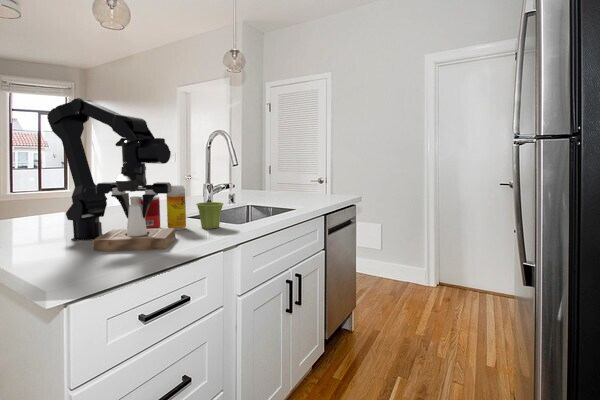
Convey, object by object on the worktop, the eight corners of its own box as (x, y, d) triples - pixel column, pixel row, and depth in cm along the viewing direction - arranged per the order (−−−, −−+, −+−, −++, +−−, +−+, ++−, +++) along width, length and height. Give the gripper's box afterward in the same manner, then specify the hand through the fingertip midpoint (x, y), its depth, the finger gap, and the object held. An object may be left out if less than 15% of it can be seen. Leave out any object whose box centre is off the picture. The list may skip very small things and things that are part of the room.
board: (93, 251, 92) (92, 239, 91) (113, 239, 105) (112, 229, 105) (165, 249, 94) (164, 237, 94) (175, 237, 108) (174, 227, 108)
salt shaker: (128, 233, 101) (127, 195, 100) (148, 232, 103) (147, 195, 102) (124, 237, 96) (122, 197, 95) (145, 236, 98) (144, 197, 96)
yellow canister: (180, 231, 118) (178, 186, 116) (164, 230, 119) (162, 186, 117) (189, 227, 124) (188, 185, 122) (173, 226, 125) (172, 185, 123)
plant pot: (199, 225, 129) (198, 201, 128) (225, 224, 130) (224, 201, 129) (194, 230, 119) (193, 205, 118) (222, 230, 120) (222, 205, 119)
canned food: (165, 227, 124) (164, 196, 123) (148, 231, 117) (147, 198, 116) (148, 225, 127) (146, 195, 126) (130, 229, 119) (129, 197, 118)
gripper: (84, 163, 88) (88, 224, 90) (162, 164, 91) (164, 222, 93) (102, 162, 99) (105, 216, 101) (171, 163, 102) (172, 216, 104)
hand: (136, 218), depth 99 cm, fingers closed on salt shaker, 4 cm apart
